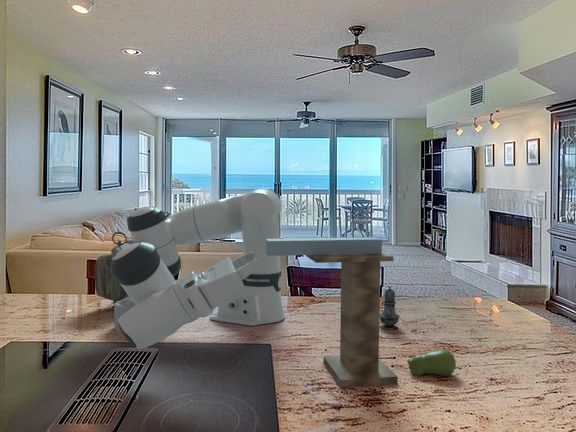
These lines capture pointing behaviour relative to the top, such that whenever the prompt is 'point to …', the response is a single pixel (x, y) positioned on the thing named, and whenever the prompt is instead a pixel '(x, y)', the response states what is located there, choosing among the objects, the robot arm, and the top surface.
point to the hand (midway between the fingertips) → (256, 258)
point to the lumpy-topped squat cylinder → (121, 310)
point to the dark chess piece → (389, 311)
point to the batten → (323, 246)
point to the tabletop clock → (108, 277)
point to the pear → (433, 363)
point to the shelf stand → (359, 321)
